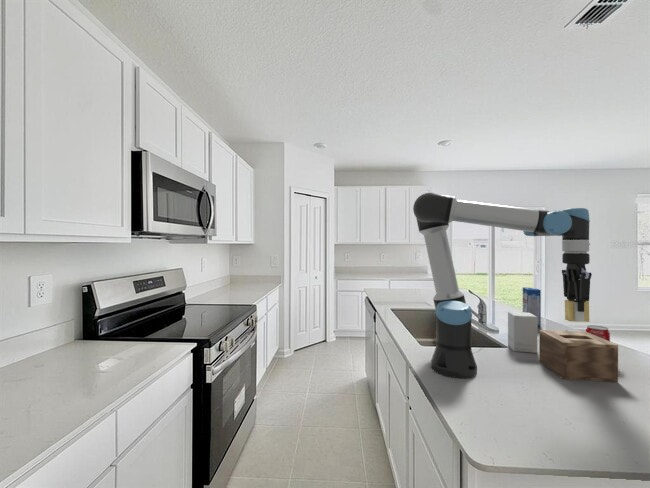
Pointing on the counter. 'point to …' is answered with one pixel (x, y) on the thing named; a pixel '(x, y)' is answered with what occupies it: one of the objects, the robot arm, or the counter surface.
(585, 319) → the block
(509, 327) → the supplement box
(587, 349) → the coin box
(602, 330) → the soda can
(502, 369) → the counter surface
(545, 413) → the counter surface
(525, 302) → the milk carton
